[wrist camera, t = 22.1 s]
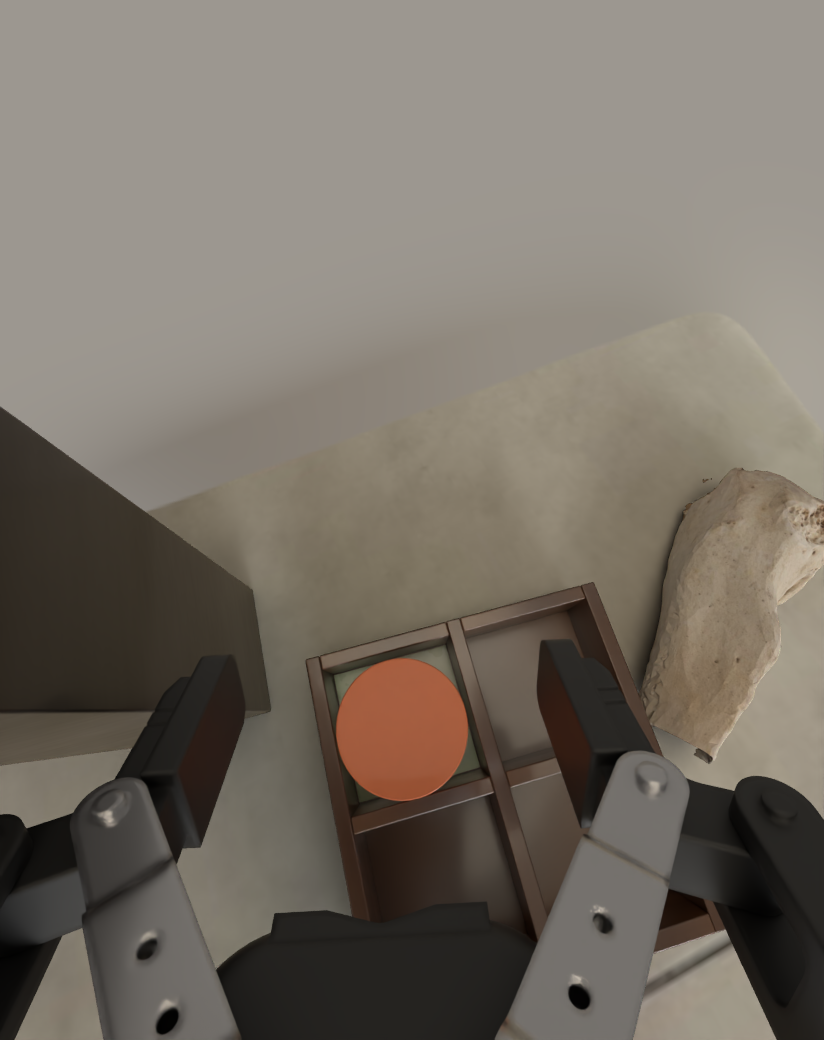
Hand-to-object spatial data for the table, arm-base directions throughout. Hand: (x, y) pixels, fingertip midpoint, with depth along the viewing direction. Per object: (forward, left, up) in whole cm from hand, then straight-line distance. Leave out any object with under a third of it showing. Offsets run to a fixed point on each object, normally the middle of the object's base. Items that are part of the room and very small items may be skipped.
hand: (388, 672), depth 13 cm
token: (0, -1, -11) cm, 11 cm away
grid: (+3, -4, -11) cm, 12 cm away
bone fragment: (+16, 0, -12) cm, 20 cm away
